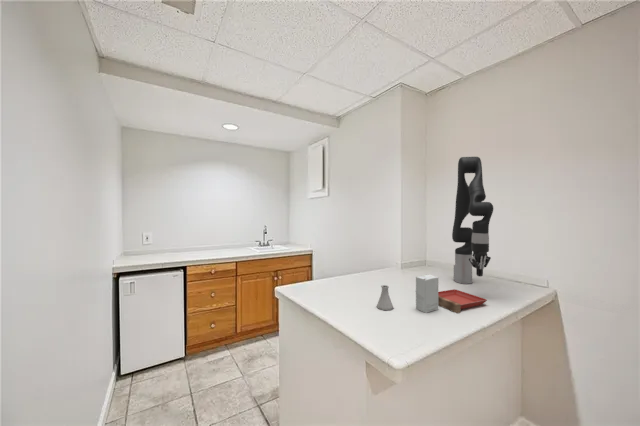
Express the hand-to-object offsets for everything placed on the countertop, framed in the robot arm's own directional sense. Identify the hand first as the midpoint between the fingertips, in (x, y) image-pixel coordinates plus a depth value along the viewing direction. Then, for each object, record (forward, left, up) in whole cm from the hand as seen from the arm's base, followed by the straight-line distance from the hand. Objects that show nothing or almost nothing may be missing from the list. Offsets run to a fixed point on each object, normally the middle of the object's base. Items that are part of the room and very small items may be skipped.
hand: (479, 275), depth 135 cm
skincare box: (+2, -36, -11) cm, 38 cm away
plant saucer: (+1, -16, -12) cm, 20 cm away
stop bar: (0, -26, -11) cm, 29 cm away
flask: (-7, -52, -11) cm, 54 cm away
